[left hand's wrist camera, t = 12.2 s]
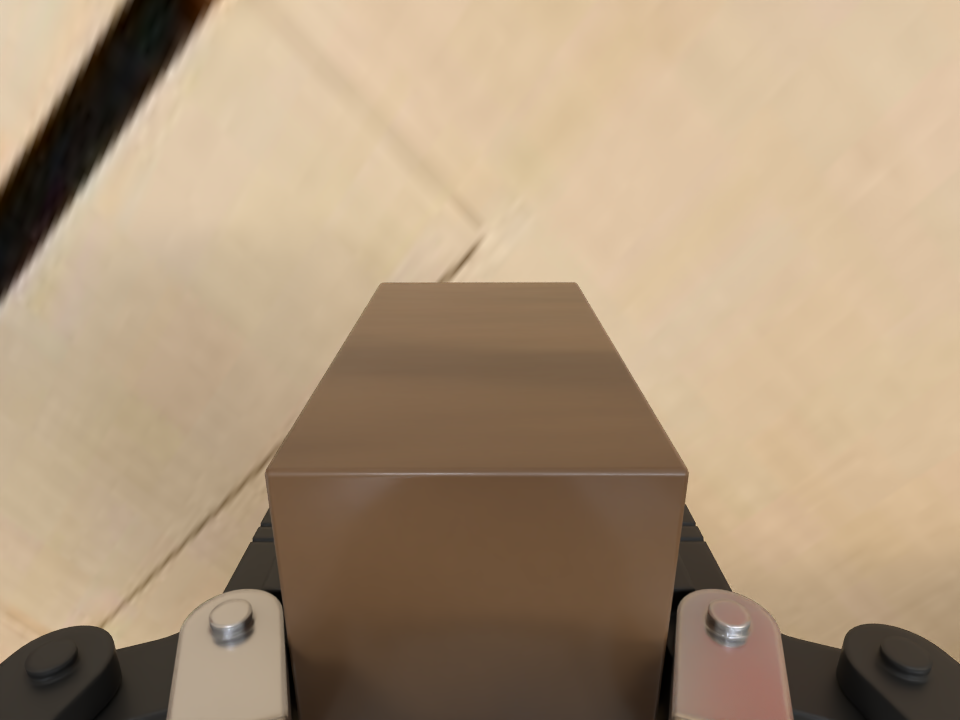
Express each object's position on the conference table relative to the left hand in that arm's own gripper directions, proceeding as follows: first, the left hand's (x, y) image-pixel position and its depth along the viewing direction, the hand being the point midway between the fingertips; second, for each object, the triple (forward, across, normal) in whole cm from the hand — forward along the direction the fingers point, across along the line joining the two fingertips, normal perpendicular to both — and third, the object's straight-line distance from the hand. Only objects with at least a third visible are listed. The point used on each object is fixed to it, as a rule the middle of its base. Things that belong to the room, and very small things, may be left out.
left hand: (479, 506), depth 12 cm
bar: (+4, 0, -8) cm, 9 cm away
